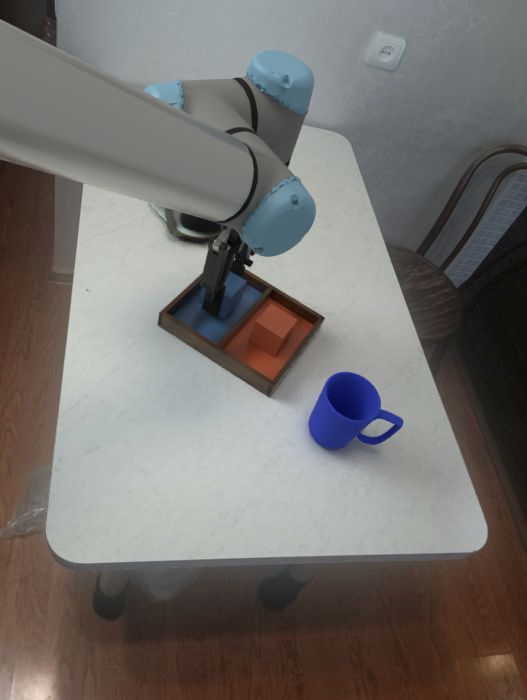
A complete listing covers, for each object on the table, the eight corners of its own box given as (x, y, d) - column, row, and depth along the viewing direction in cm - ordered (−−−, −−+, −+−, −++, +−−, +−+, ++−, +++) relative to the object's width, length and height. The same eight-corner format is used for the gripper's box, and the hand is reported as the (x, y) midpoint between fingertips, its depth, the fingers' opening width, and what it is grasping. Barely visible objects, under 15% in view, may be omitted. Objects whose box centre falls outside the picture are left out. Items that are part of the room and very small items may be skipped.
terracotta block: (274, 357, 85) (283, 338, 81) (248, 341, 86) (255, 321, 82) (288, 339, 88) (298, 319, 85) (263, 323, 89) (271, 303, 85)
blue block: (224, 319, 86) (230, 298, 82) (198, 303, 86) (203, 281, 83) (240, 302, 89) (247, 281, 85) (215, 286, 90) (221, 265, 86)
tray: (157, 324, 84) (159, 312, 82) (219, 266, 96) (222, 254, 93) (269, 397, 81) (274, 386, 79) (319, 328, 93) (325, 317, 90)
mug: (371, 476, 78) (402, 444, 70) (295, 442, 78) (317, 407, 70) (381, 431, 83) (411, 396, 75) (309, 399, 83) (332, 362, 75)
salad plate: (122, 187, 102) (124, 167, 99) (199, 168, 112) (203, 149, 108) (180, 253, 95) (183, 233, 92) (256, 227, 105) (262, 208, 101)
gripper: (262, 143, 76) (229, 261, 94) (189, 197, 65) (167, 321, 82) (307, 168, 75) (266, 284, 93) (241, 228, 64) (207, 347, 81)
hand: (219, 301), depth 87 cm, fingers closed on blue block, 5 cm apart
